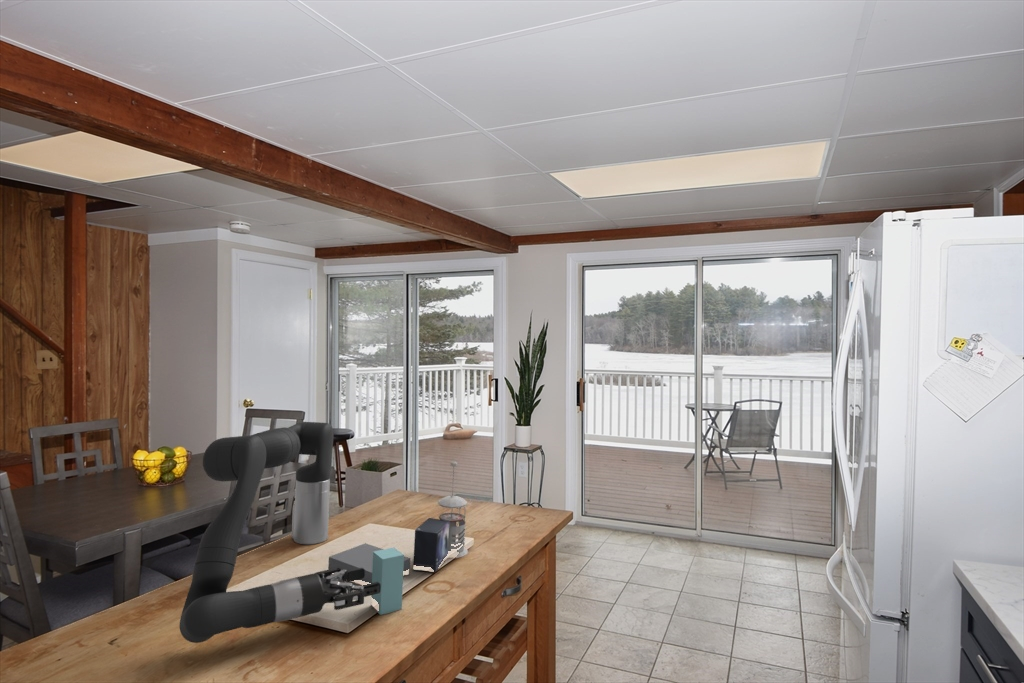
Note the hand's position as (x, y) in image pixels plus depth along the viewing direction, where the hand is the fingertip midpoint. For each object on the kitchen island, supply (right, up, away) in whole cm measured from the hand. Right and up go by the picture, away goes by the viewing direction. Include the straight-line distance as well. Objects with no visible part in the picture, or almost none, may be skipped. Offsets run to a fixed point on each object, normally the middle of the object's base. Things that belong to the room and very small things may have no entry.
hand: (371, 579), depth 128 cm
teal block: (+3, -7, +2) cm, 8 cm away
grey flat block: (-5, -6, +19) cm, 21 cm away
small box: (+9, -7, +27) cm, 29 cm away
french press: (+13, -7, +37) cm, 40 cm away
